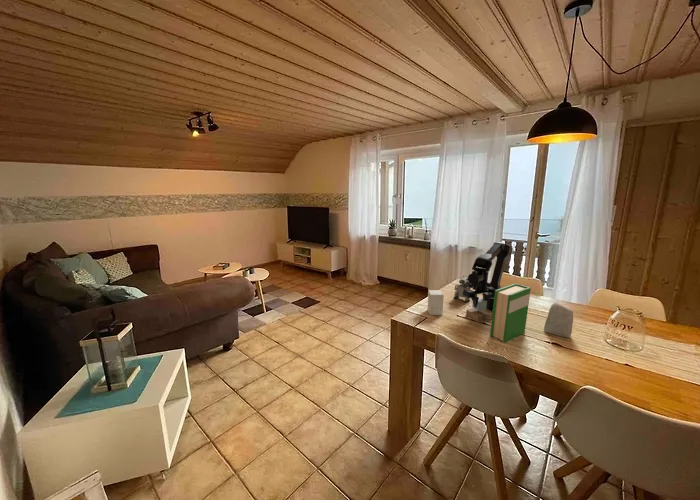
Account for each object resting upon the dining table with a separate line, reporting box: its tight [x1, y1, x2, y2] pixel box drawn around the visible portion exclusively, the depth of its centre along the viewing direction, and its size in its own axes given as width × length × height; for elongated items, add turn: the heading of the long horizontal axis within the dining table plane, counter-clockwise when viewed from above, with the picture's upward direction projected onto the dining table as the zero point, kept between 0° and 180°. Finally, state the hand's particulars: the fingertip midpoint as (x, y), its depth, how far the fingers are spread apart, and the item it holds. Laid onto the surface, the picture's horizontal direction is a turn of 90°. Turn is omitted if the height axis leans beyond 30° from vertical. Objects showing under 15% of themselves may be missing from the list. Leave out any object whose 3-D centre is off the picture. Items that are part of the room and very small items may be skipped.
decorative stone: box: [543, 302, 574, 339], centre depth 139 cm, size 11×6×15 cm, turn 39°
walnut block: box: [465, 307, 492, 323], centre depth 158 cm, size 9×9×4 cm
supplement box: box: [427, 289, 445, 316], centre depth 164 cm, size 7×7×13 cm
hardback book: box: [489, 282, 532, 344], centre depth 137 cm, size 18×7×24 cm, turn 122°
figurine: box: [453, 275, 472, 303], centre depth 182 cm, size 9×12×15 cm
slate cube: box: [471, 297, 487, 311], centre depth 156 cm, size 5×5×5 cm
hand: (479, 306), depth 157 cm, fingers closed on slate cube, 5 cm apart
